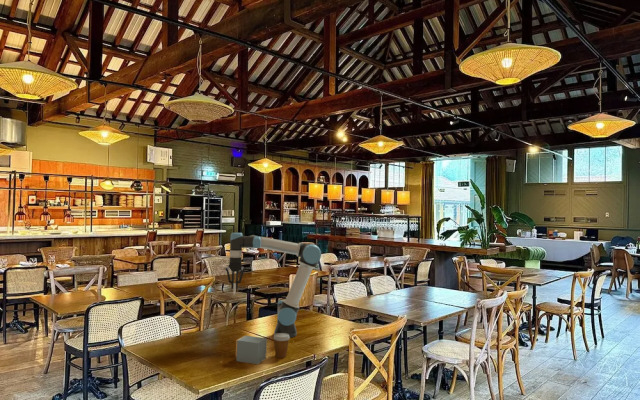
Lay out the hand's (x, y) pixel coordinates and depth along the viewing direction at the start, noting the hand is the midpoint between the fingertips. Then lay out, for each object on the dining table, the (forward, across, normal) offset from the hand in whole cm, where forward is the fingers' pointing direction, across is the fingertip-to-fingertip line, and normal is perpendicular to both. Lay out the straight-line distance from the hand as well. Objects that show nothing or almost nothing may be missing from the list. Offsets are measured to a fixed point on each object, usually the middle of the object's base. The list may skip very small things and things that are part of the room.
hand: (234, 293), depth 282 cm
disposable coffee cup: (+30, -27, +34) cm, 53 cm away
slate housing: (+29, -10, +38) cm, 49 cm away
